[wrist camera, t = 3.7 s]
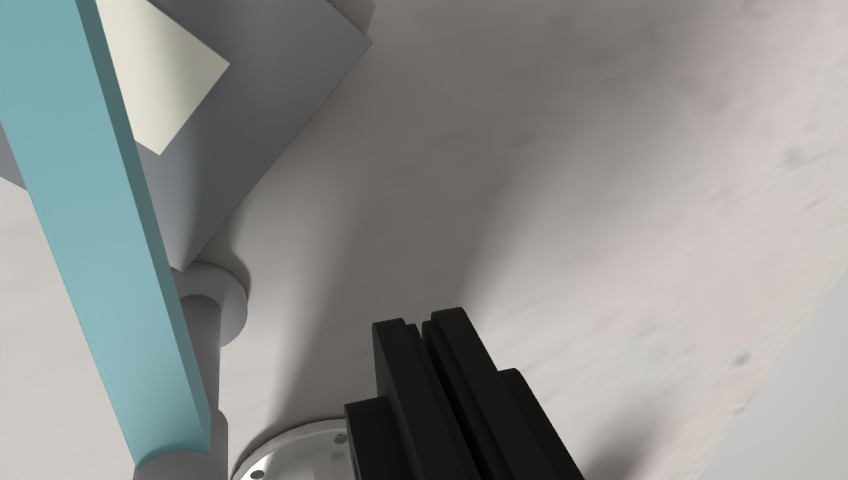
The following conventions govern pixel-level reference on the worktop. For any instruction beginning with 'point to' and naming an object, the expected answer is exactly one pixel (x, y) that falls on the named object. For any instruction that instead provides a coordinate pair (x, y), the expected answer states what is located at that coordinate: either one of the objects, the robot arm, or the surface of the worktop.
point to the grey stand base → (215, 124)
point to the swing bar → (105, 233)
